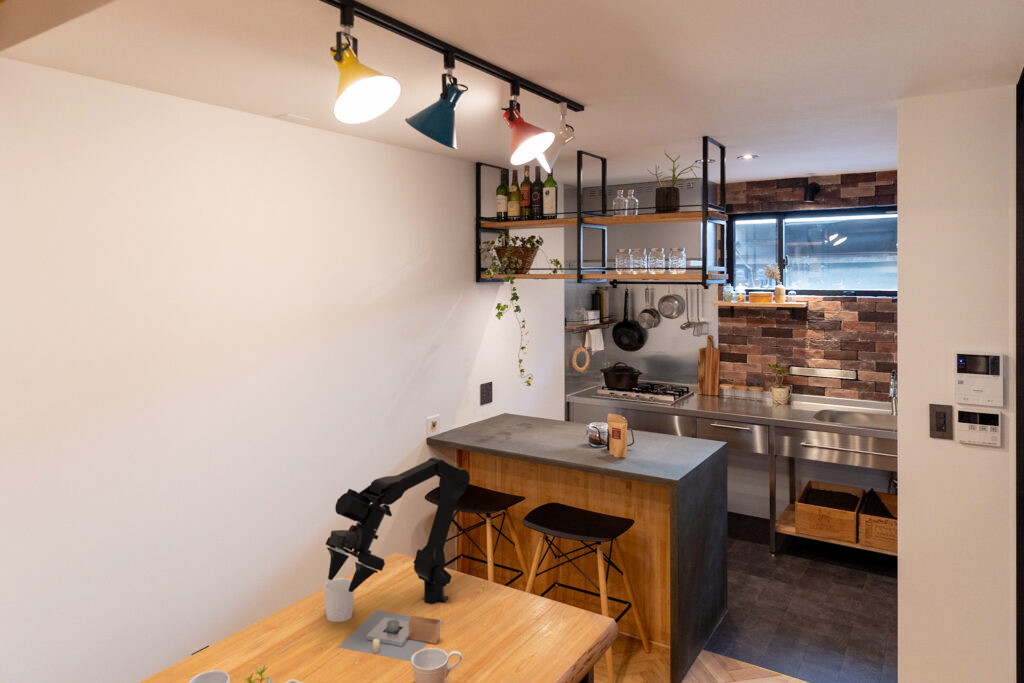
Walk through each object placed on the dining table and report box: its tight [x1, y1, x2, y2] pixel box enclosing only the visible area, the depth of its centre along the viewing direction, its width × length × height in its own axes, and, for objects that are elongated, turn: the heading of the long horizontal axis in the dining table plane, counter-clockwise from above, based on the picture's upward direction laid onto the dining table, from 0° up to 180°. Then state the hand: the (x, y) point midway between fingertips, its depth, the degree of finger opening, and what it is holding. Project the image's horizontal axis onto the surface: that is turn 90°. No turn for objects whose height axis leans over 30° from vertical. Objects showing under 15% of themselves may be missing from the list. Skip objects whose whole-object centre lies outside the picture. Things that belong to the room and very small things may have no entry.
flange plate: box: [366, 615, 441, 646], centre depth 174 cm, size 18×10×5 cm, turn 73°
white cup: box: [323, 577, 355, 623], centre depth 184 cm, size 8×8×10 cm
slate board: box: [338, 609, 445, 662], centre depth 176 cm, size 20×20×4 cm
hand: (339, 585), depth 173 cm, fingers open, 9 cm apart
